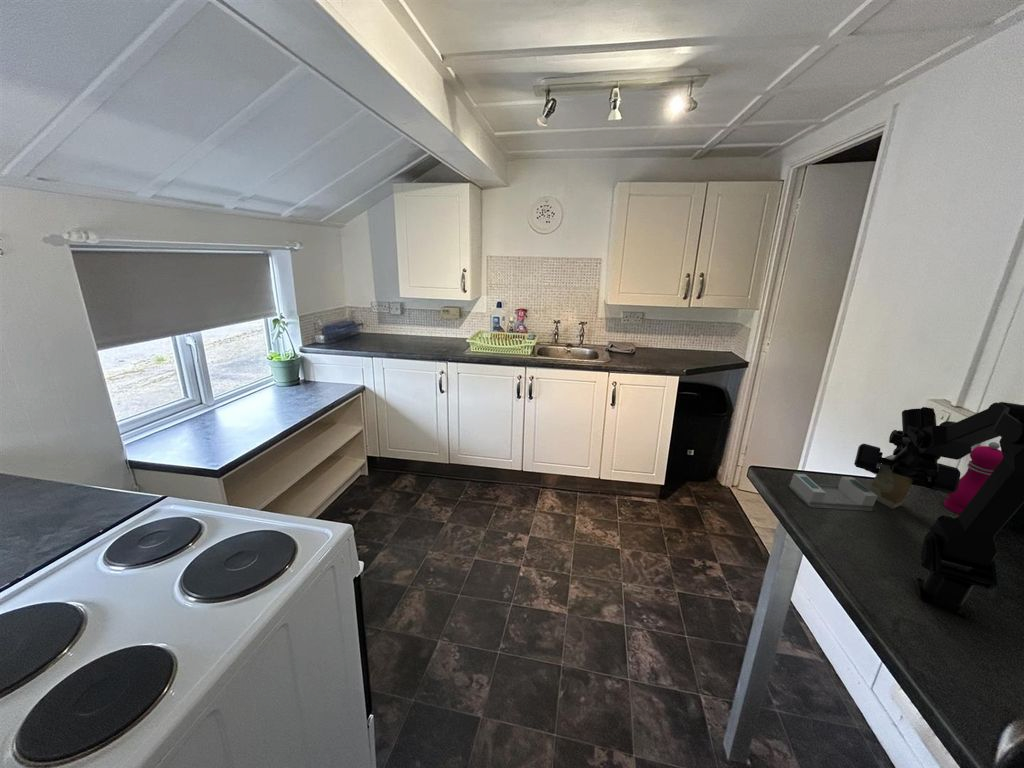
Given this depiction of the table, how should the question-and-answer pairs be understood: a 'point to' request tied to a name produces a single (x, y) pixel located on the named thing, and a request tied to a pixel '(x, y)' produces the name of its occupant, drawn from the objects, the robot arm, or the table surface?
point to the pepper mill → (974, 476)
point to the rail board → (834, 499)
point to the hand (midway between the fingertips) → (893, 477)
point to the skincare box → (890, 486)
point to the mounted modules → (846, 485)
